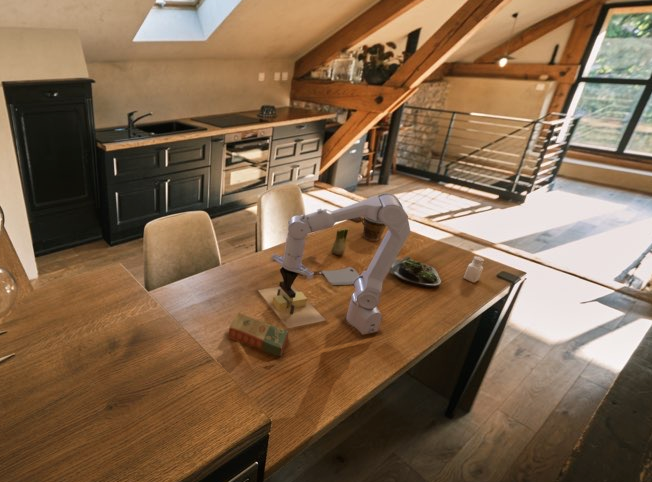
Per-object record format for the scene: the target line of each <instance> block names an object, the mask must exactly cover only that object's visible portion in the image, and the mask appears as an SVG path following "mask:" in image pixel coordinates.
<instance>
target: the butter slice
mask: <svg viewBox="0 0 652 482" xmlns="http://www.w3.org/2000/svg"><path fill="white" fill-rule="evenodd" d="M272 304H273V305H274V306H275V307H276V309H277V310H278V311H281V310H286V308H287V301H286V300H285V299H284V298H283V297H282V295H279V296H273V303H272Z"/></svg>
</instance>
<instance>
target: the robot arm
mask: <svg viewBox="0 0 652 482" xmlns="http://www.w3.org/2000/svg"><path fill="white" fill-rule="evenodd" d="M363 216H365V217H367V218H370V219H372V220H374V221H377V217H379V219H380V221H381V222H382V223H383V224H385V225H386V228H387V231H386V233H385V235H384V237H383V239H382V240H381V243H380V244H379V246H378V248H377V250H376V251H375V254H374V255H373V257H372V259H371V261H370V263H369V265H368V267H367V268H366V269H365V270H363V271H362V272H361V274H359V275H360V276H359V277H357V278H356V279H355V280H354V284H353V288H354V292H352V294H351V297H350V301H349V305H348V309H347V313H346V318H345V320H346V321H347V323H348V324H349V325H350V326H351V327H353V328H355V329H356V330H357V331H358V332H359V333H360V334H361V335H362V336H364V335H367V334H372V333H376V332H379V330H380V327H381V323H382V319H383V314H382V313H381V311H379V309H378V306H379V304H380V302H381V300H380V297H381V294H382V291H383V282H384V280H385V279H386V277H387V275H388V273H389V270H390V269H391V268H392V264H393V263H394V261H395V259H397V257H398V256H399V254H400V252H401V250H402V249H403V247H404V245H405V243H406V242H407V240H408V239H409V236H410V235H411V226H410V221H409V215H408V214H407V212H406V211H405V209H404V207H403V204H402V203H401V201H400V200H399V199H398V197H397V196H396V195H395V194H393V193H391V192H383V193H380V194H378V195H377V194H376V195H371V196H370V197H368V198H366V199H363V200H361V201H357V202H355V203H352V204H350V205H347V206H343V207H340V208H337V209H335V210H330V209H325V208H324V209H322V208H318V209H317V210H316V211H314V212H311V213H307V214H305V213H303V214H301V215H294V216H293V215H292V216H291V218H290V219H289V220H288V227H287V231H288V232H287V235H286V240H285V246H284V251H283V256H281V255H278V254H276V253H274V254H272V255H270V261H271V262H272V263H277V264H278V265H280V266H281V268H280V269H279V272H280V274H281V277H282V280H283V281H284V288H286V289H289V288H291V286H292V285H293V283H294V282H295V280H296V279H297V277H298V276H301V275H303V276H302V277H304V278H306V280H309V281H311V280H312V279H313V278H314V276H315V275H314V273H313V272H314V271H311V269H309V268H307V267H306V266H305V265H304V264H303V263H302V262H303V257H304V253H305V246H306V238H307V237H308V235H309V234H313V233H316V232H320V231H323V230H328V229H332V228H333V227H334V226H335V224H336V223H338V222H344V221H349V220H352V219H357V218H359V217H360V218H362V217H363ZM299 274H301V275H299Z"/></svg>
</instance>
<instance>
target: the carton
mask: <svg viewBox="0 0 652 482" xmlns="http://www.w3.org/2000/svg"><path fill="white" fill-rule="evenodd" d="M227 336H228V338H229V339H231V340H234V341H236V342H239V343H240V342H242V343H244V344H247V345H249V346H253V347H255V348H257V349H260V350H263V351H264V352H267V353H270V354H271V355H275V356H277V357H278V358H279V357H282V355H283V352H284V349H285V347H286V344H287V342H288V338H289V331H288V330H286V329H284V328H281V327H279V326H275V325H272V324H269V323H266V322H264V321H261V320H259V319H256V318H253V317H251V316H248V315H246V314H243V313H240V312H239V313H237V315H236V316H235V319H233V322H232V323H231V325H230V327H229V328H228V335H227Z"/></svg>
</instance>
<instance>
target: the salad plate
mask: <svg viewBox="0 0 652 482" xmlns="http://www.w3.org/2000/svg"><path fill="white" fill-rule="evenodd" d="M388 273H389V274H392V275H393V276H395V278H396V279H397V280H398V281H400V282H402V283H405V284H406V285H412V286H415V287H419V288H426V289H435V288H437V287H439V286H441V284H442V280H441V277H440V275H439V273H438V271H437V269H435V268H434V267H432V266H431V265H429V264H426V263H421V262H420V261H417V260H414V259H413V258H411V257H410V256H407V255H406V256H405V257H403V258H402V259H401V258H396V259H395V261H394V263H393V264H392V266H391V268H390V270H389V271H388Z"/></svg>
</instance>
